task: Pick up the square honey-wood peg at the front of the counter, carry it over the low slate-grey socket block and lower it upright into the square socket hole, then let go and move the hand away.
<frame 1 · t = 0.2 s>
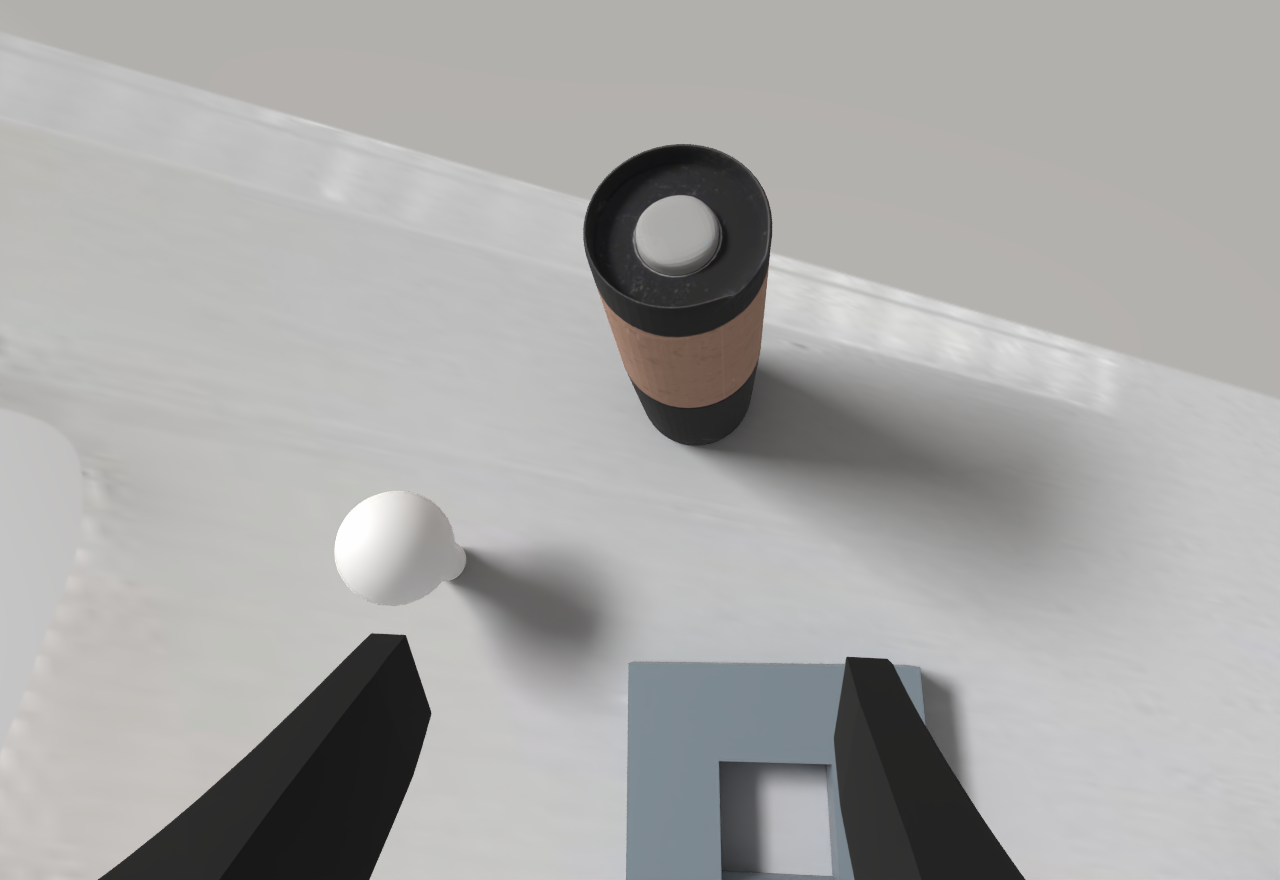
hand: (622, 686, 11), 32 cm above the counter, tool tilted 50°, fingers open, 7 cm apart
travel mug: (696, 395, 46), on the counter
lightbulb: (453, 562, 45), on the counter
socket block: (774, 813, 39), on the counter
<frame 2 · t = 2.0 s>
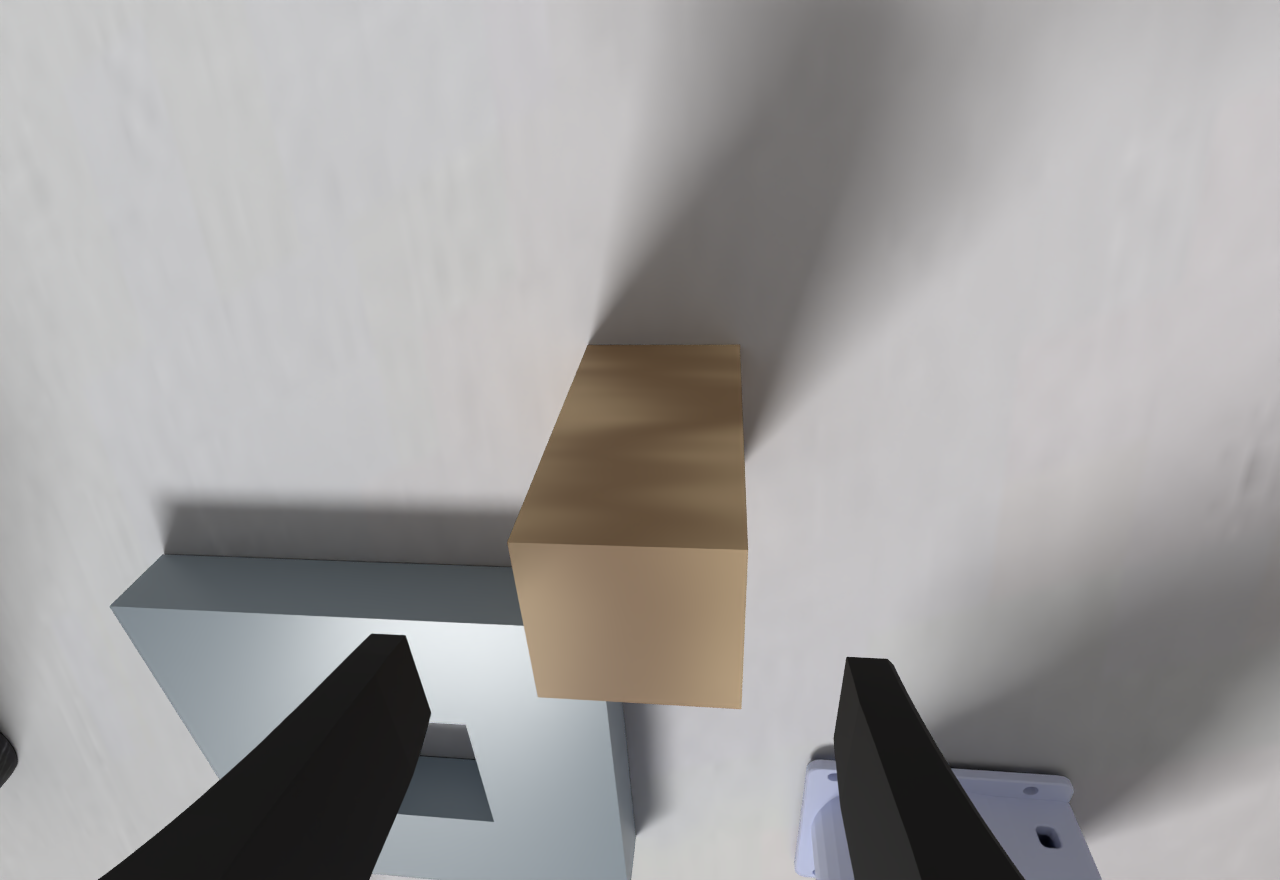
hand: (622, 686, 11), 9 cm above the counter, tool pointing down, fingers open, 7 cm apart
socket block: (427, 712, 28), on the counter
peg: (665, 411, 19), on the counter
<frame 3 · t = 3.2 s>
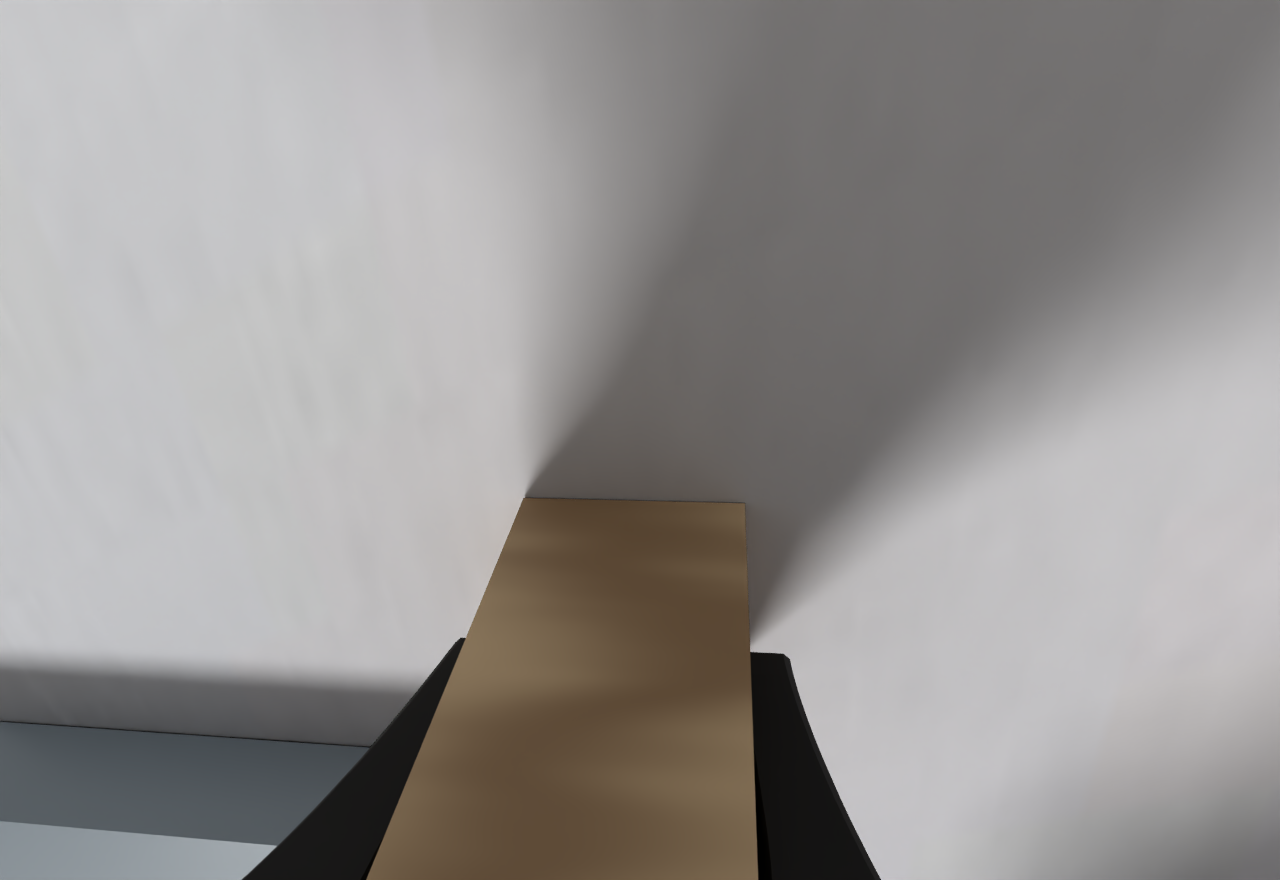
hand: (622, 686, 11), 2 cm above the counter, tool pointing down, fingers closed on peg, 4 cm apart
peg: (638, 582, 13), on the counter, touching gripper
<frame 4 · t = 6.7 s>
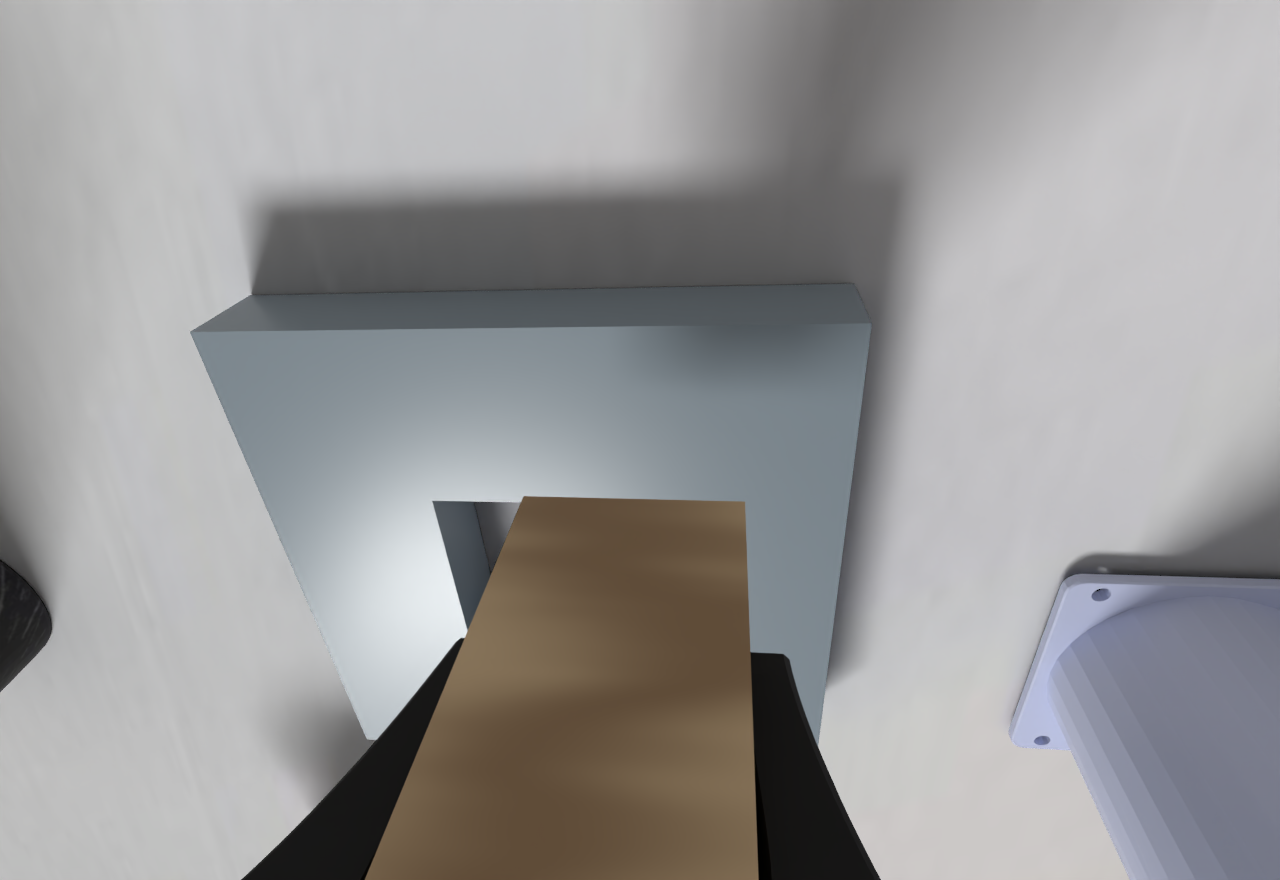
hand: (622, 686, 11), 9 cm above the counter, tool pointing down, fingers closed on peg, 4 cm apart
socket block: (570, 530, 22), on the counter
peg: (637, 581, 13), point 7 cm above the counter, touching gripper
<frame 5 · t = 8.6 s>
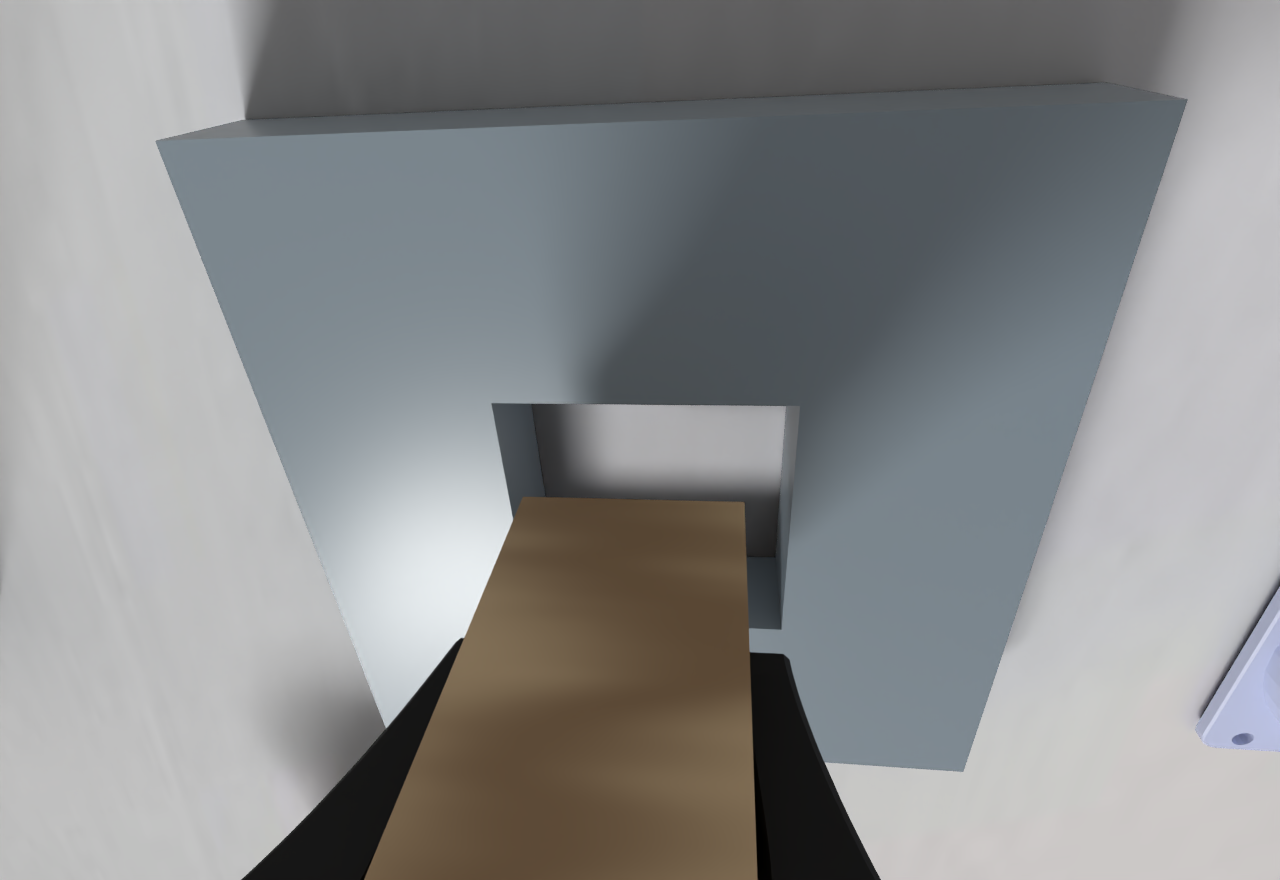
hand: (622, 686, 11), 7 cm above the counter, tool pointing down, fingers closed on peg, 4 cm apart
socket block: (658, 461, 17), on the counter
peg: (637, 581, 13), point 4 cm above the counter, touching gripper
when the fingers open (4 cm above the counter, at t = 10.3 s): peg drops 2 cm, resting in socket block.
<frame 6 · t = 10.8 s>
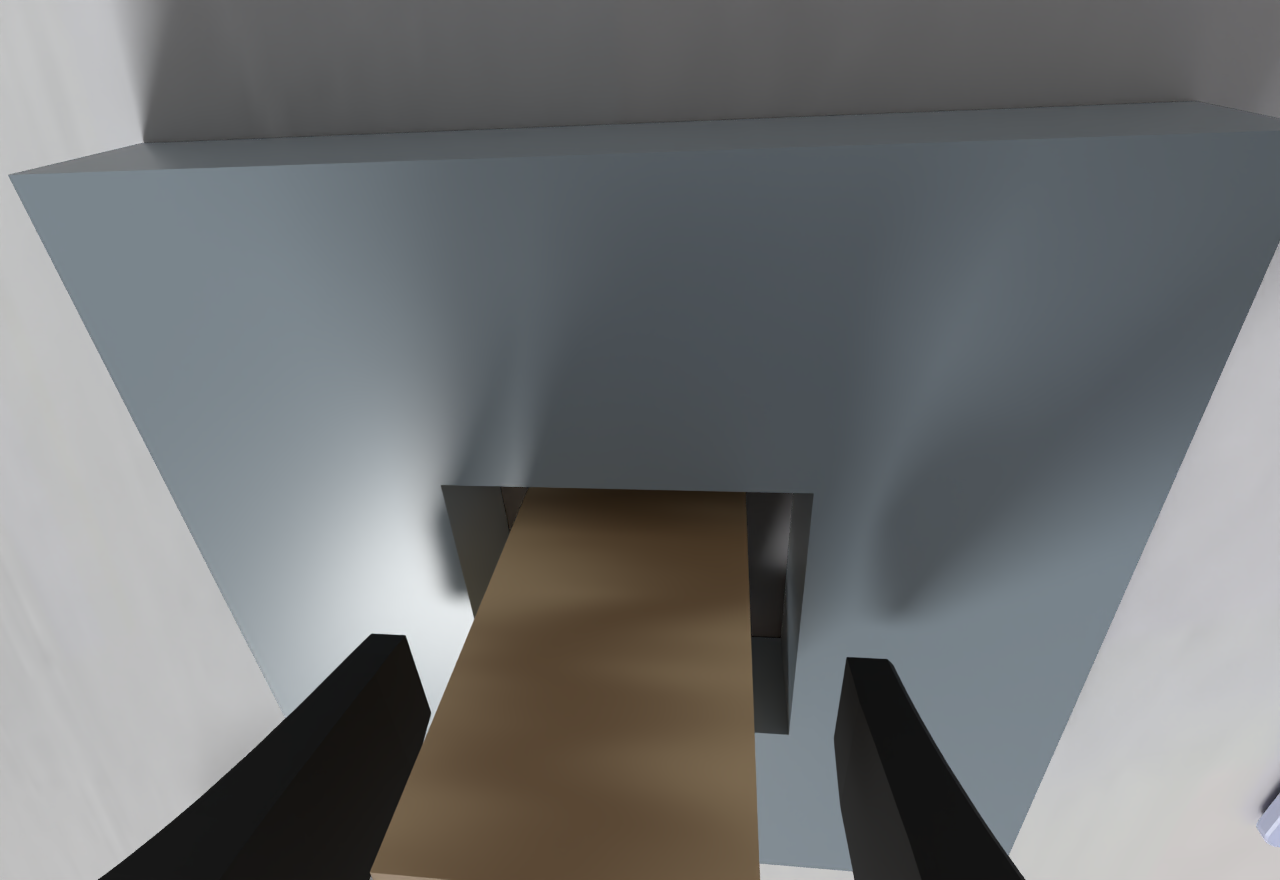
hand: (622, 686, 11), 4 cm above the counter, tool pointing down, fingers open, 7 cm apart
socket block: (645, 533, 15), on the counter
peg: (646, 531, 15), resting in socket block
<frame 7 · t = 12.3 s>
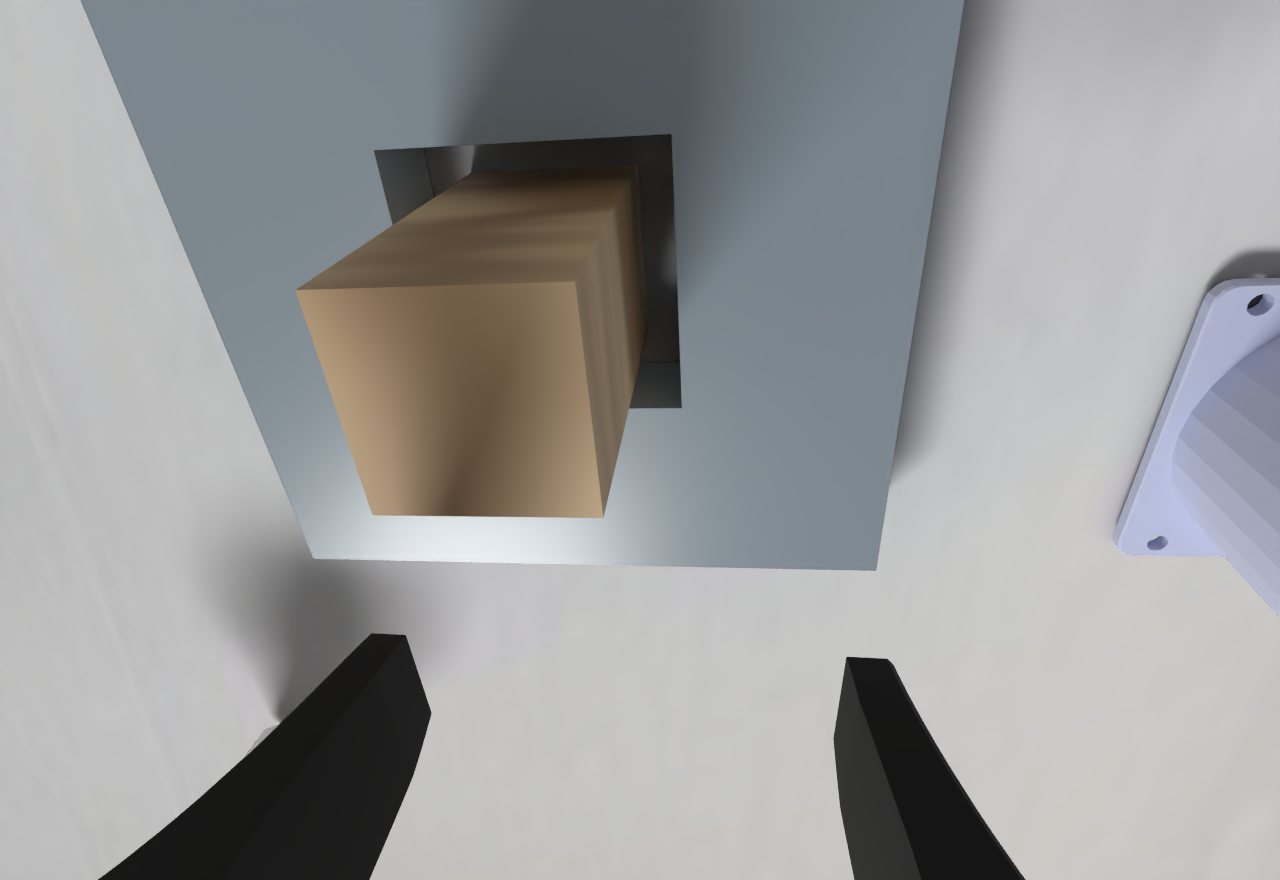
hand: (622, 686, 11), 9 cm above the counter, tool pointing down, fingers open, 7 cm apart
socket block: (562, 254, 17), on the counter
peg: (563, 253, 17), resting in socket block
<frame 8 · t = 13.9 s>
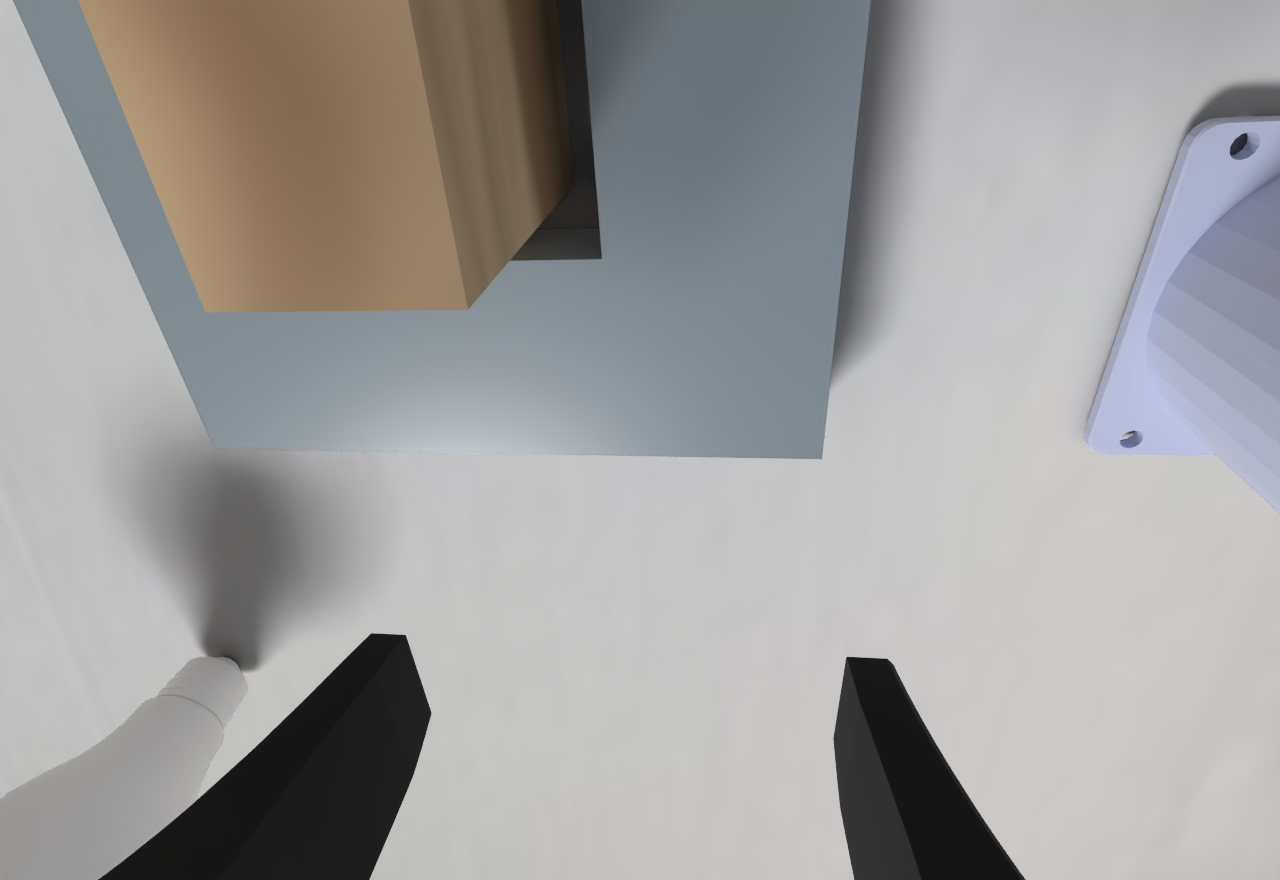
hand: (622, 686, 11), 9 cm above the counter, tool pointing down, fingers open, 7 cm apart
lightbulb: (231, 658, 28), on the counter
socket block: (476, 95, 16), on the counter
peg: (478, 94, 16), resting in socket block
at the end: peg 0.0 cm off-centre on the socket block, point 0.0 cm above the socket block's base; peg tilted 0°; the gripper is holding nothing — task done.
